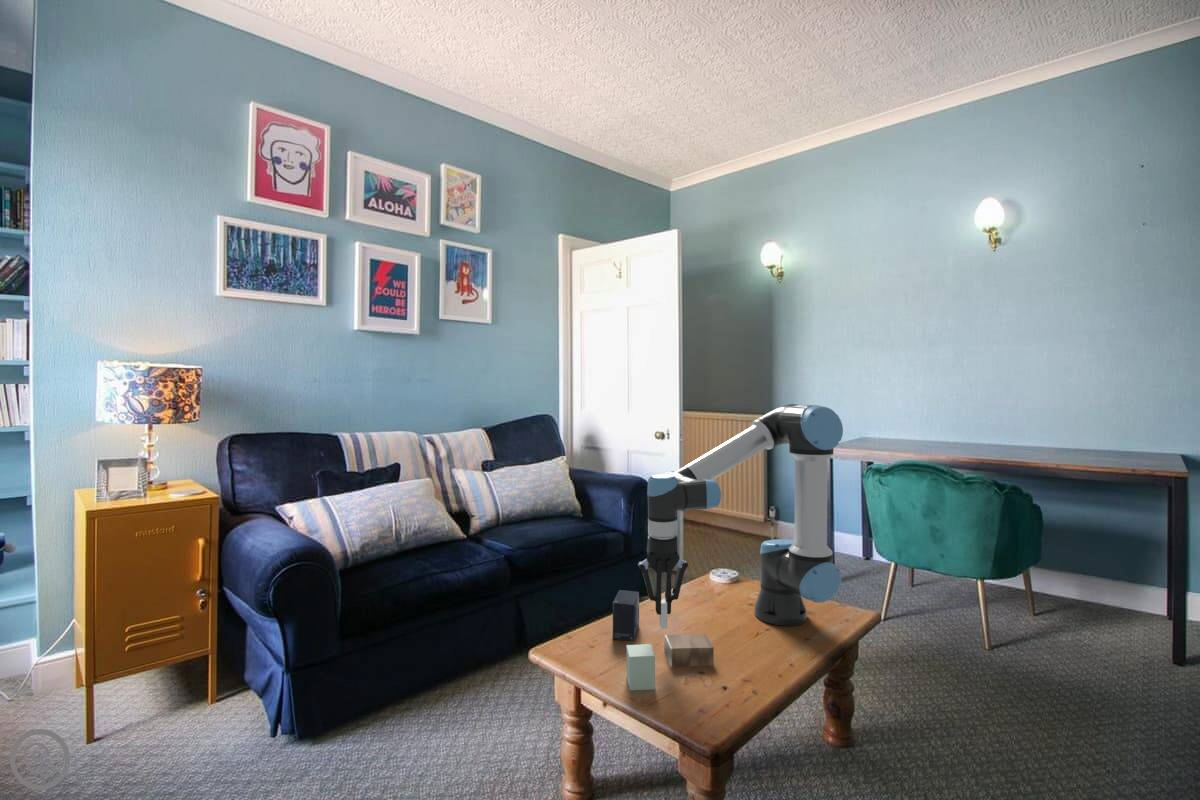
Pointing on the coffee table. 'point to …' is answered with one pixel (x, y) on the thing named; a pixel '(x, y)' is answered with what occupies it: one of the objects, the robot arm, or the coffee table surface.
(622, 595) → the small box
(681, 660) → the walnut block
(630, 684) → the sage block
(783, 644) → the coffee table surface
